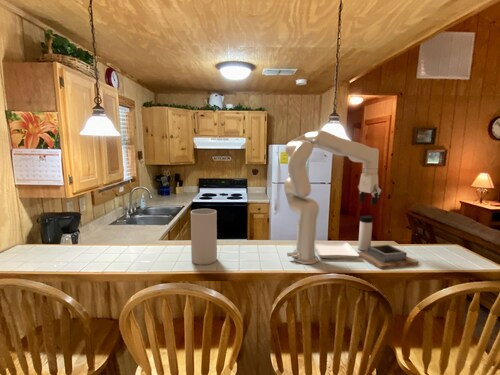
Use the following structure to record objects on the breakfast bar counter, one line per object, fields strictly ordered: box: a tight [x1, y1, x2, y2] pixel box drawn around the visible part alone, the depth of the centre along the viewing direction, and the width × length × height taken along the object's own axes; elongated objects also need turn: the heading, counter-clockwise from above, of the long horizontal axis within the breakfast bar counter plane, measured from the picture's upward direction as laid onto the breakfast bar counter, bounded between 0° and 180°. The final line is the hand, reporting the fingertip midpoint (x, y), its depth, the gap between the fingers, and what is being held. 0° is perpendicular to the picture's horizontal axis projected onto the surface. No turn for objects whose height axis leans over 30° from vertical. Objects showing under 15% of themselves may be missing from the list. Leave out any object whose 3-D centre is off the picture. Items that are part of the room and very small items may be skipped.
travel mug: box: [357, 214, 374, 252], centre depth 151 cm, size 6×7×20 cm
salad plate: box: [315, 240, 360, 260], centre depth 148 cm, size 21×21×3 cm
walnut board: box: [356, 251, 419, 270], centre depth 139 cm, size 22×18×2 cm
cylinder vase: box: [190, 208, 218, 265], centre depth 135 cm, size 12×12×25 cm
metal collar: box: [367, 244, 407, 263], centre depth 139 cm, size 12×12×4 cm
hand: (368, 202), depth 149 cm, fingers open, 9 cm apart
